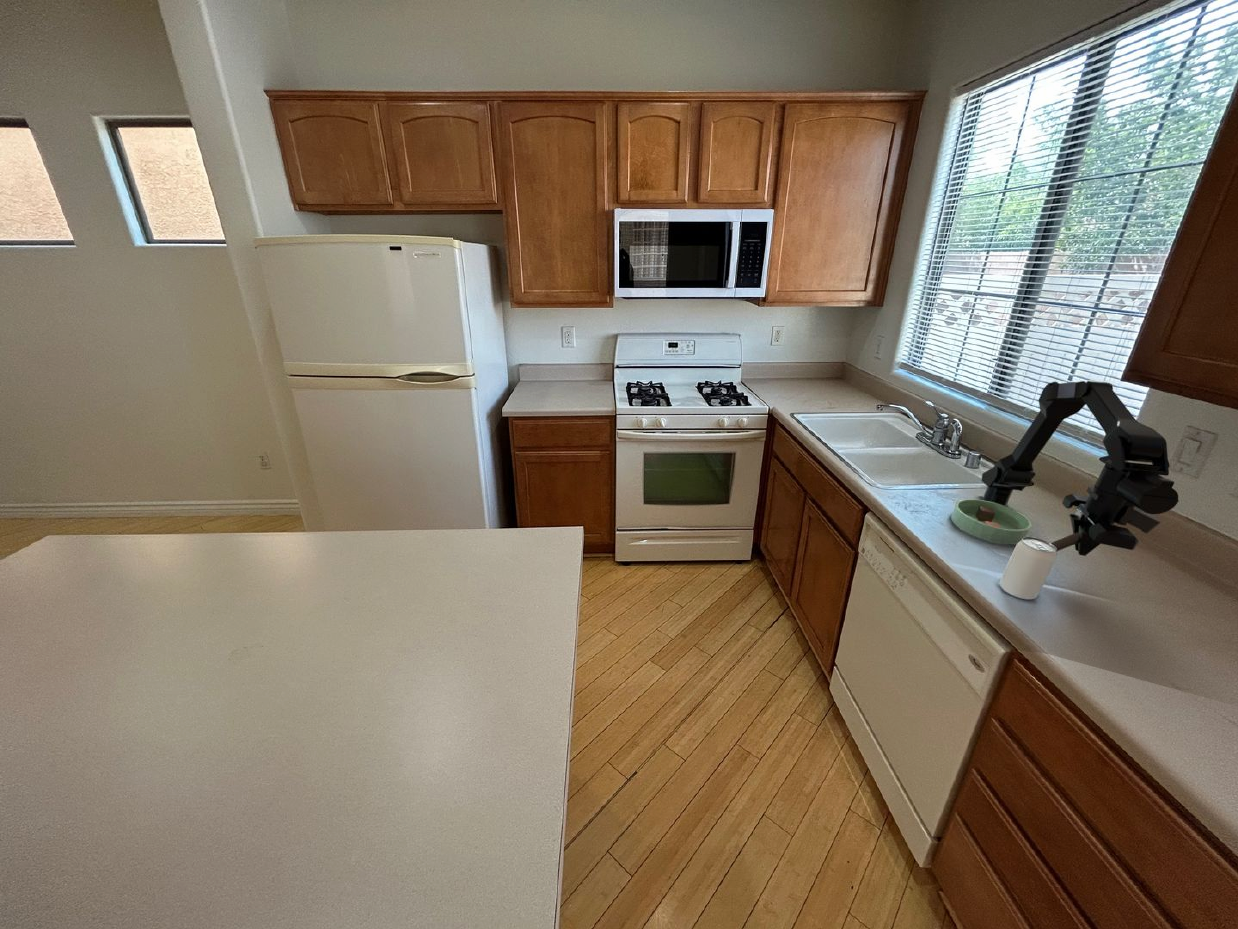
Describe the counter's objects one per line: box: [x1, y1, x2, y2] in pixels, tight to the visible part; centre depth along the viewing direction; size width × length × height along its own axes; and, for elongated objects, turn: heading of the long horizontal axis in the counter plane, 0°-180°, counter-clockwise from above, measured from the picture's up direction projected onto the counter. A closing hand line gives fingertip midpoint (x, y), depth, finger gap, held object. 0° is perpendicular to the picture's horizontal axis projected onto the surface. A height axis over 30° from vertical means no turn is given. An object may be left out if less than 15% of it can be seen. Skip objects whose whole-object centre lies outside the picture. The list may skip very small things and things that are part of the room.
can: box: [999, 536, 1058, 601], centre depth 100 cm, size 6×6×12 cm
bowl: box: [950, 498, 1033, 545], centre depth 124 cm, size 16×16×4 cm
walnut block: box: [976, 506, 995, 522], centre depth 128 cm, size 3×3×3 cm
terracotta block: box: [984, 521, 1000, 528], centre depth 121 cm, size 3×3×3 cm
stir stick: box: [1050, 532, 1079, 553], centre depth 106 cm, size 2×2×12 cm
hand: (1080, 552), depth 104 cm, fingers closed on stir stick, 1 cm apart
